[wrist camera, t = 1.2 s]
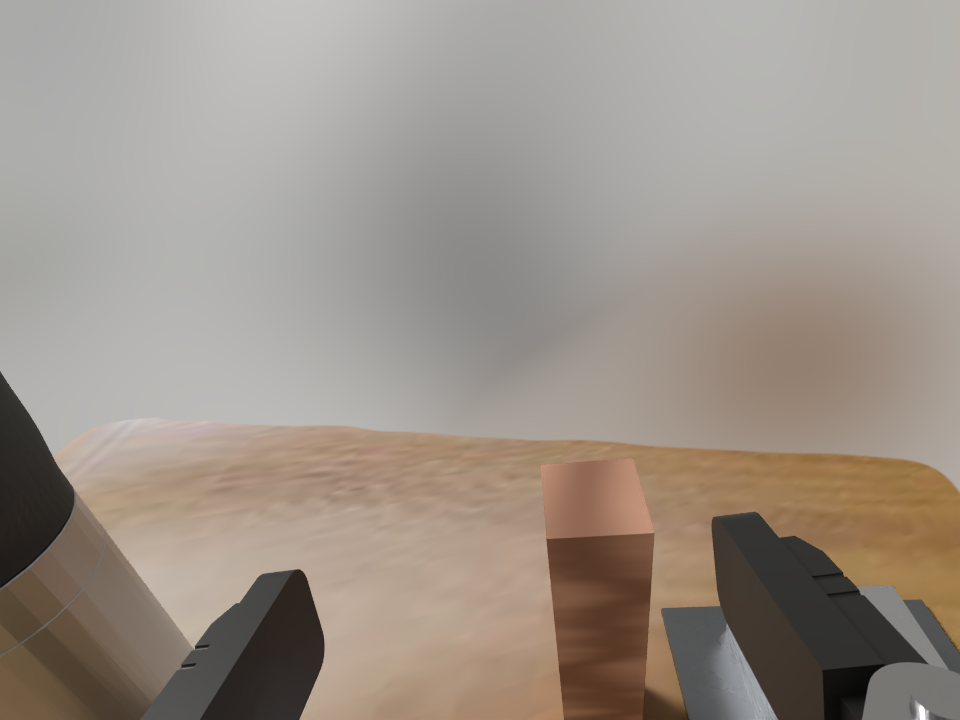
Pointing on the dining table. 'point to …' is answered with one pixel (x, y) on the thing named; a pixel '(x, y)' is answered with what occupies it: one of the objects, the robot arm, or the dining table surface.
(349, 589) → the dining table surface
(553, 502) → the square peg
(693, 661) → the socket base
